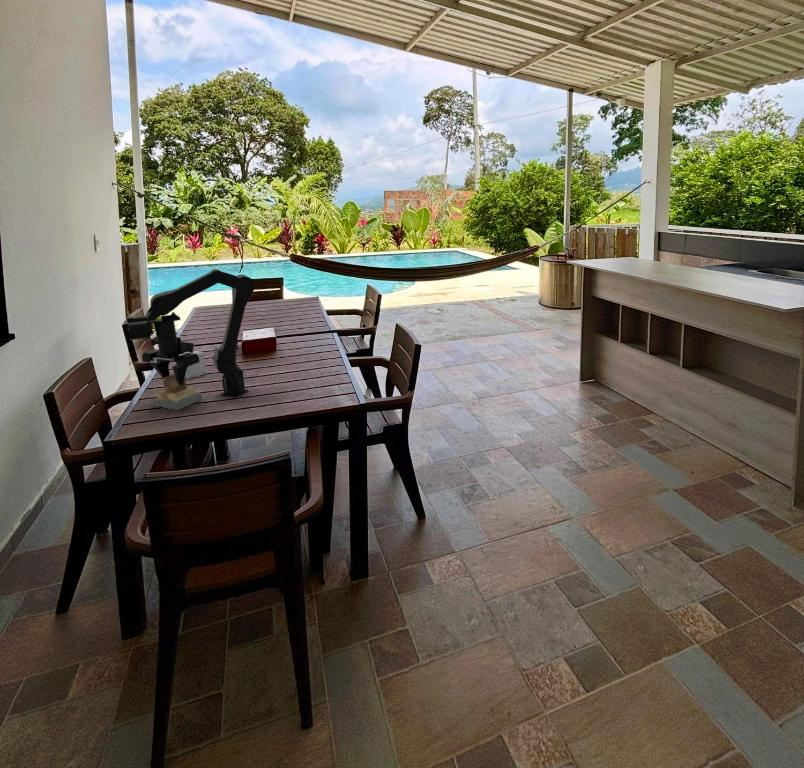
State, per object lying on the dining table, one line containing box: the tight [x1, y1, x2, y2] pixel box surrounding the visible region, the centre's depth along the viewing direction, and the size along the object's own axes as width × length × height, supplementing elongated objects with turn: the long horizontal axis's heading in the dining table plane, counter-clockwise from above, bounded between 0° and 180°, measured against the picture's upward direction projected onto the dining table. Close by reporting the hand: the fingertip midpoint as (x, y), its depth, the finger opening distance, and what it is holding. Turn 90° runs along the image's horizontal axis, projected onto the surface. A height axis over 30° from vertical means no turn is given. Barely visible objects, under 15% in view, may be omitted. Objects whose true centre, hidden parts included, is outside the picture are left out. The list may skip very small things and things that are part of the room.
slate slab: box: [152, 391, 203, 411], centre depth 176 cm, size 10×10×2 cm
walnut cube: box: [162, 373, 187, 393], centre depth 174 cm, size 4×4×4 cm
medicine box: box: [179, 350, 207, 380], centre depth 202 cm, size 8×4×9 cm, turn 141°
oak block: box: [156, 385, 197, 402], centre depth 175 cm, size 8×8×2 cm
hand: (175, 384), depth 174 cm, fingers open, 5 cm apart
